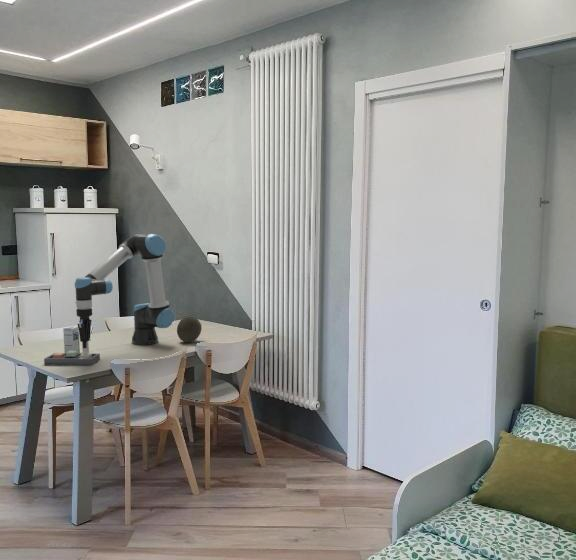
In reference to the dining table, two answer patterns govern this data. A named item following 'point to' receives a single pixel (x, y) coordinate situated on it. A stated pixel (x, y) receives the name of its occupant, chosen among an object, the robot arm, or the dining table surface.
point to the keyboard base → (72, 360)
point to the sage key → (72, 353)
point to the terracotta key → (58, 355)
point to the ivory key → (86, 355)
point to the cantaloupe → (189, 329)
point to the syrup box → (71, 339)
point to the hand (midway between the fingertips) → (85, 353)
